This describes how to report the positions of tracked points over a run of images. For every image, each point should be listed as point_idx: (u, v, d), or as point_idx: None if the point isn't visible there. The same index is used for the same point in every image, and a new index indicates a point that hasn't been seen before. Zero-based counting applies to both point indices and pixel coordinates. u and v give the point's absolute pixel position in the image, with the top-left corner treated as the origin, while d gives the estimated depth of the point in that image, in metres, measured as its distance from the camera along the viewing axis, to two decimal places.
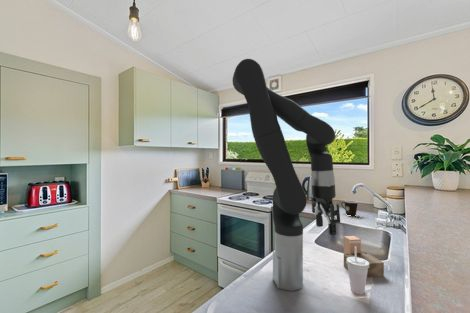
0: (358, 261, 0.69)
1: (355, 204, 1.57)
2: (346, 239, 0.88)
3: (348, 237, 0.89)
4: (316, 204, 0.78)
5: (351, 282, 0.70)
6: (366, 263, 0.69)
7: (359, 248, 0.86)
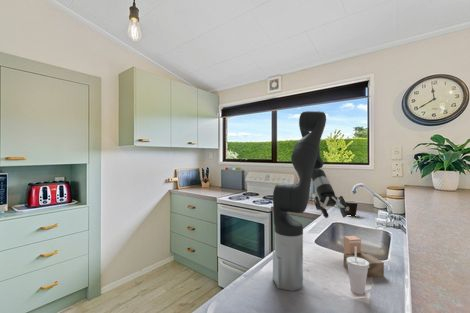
0: (358, 261, 0.69)
1: (355, 204, 1.57)
2: (346, 239, 0.88)
3: (348, 237, 0.89)
4: (327, 198, 1.04)
5: (351, 282, 0.70)
6: (366, 263, 0.69)
7: (359, 248, 0.86)
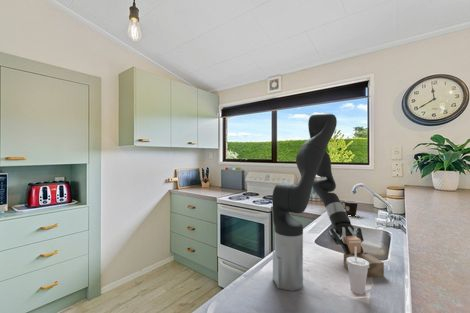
0: (358, 261, 0.69)
1: (355, 204, 1.57)
2: (346, 239, 0.88)
3: (348, 237, 0.89)
4: (343, 229, 0.92)
5: (351, 282, 0.70)
6: (366, 263, 0.69)
7: (359, 248, 0.86)
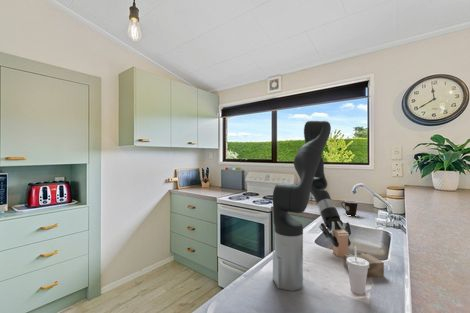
0: (358, 261, 0.69)
1: (355, 204, 1.57)
2: (335, 232, 0.96)
3: (337, 230, 0.96)
4: (332, 223, 0.99)
5: (351, 282, 0.70)
6: (366, 263, 0.69)
7: (347, 240, 0.94)
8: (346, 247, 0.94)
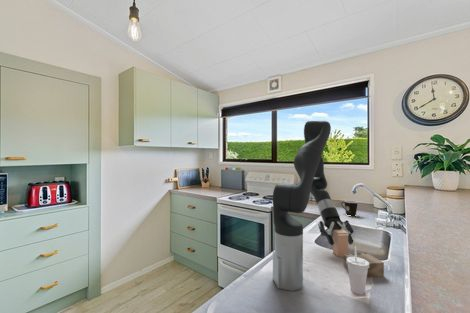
0: (358, 261, 0.69)
1: (355, 204, 1.57)
2: (335, 232, 0.96)
3: (337, 230, 0.96)
4: (332, 223, 0.99)
5: (351, 282, 0.70)
6: (366, 263, 0.69)
7: (347, 240, 0.94)
8: (346, 247, 0.94)
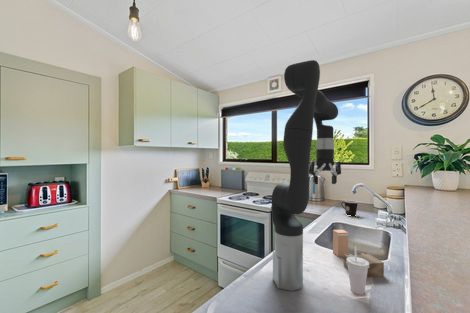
0: (358, 261, 0.69)
1: (355, 204, 1.57)
2: (335, 232, 0.96)
3: (337, 230, 0.96)
4: (323, 165, 0.99)
5: (351, 282, 0.70)
6: (366, 263, 0.69)
7: (347, 240, 0.94)
8: (346, 247, 0.94)
